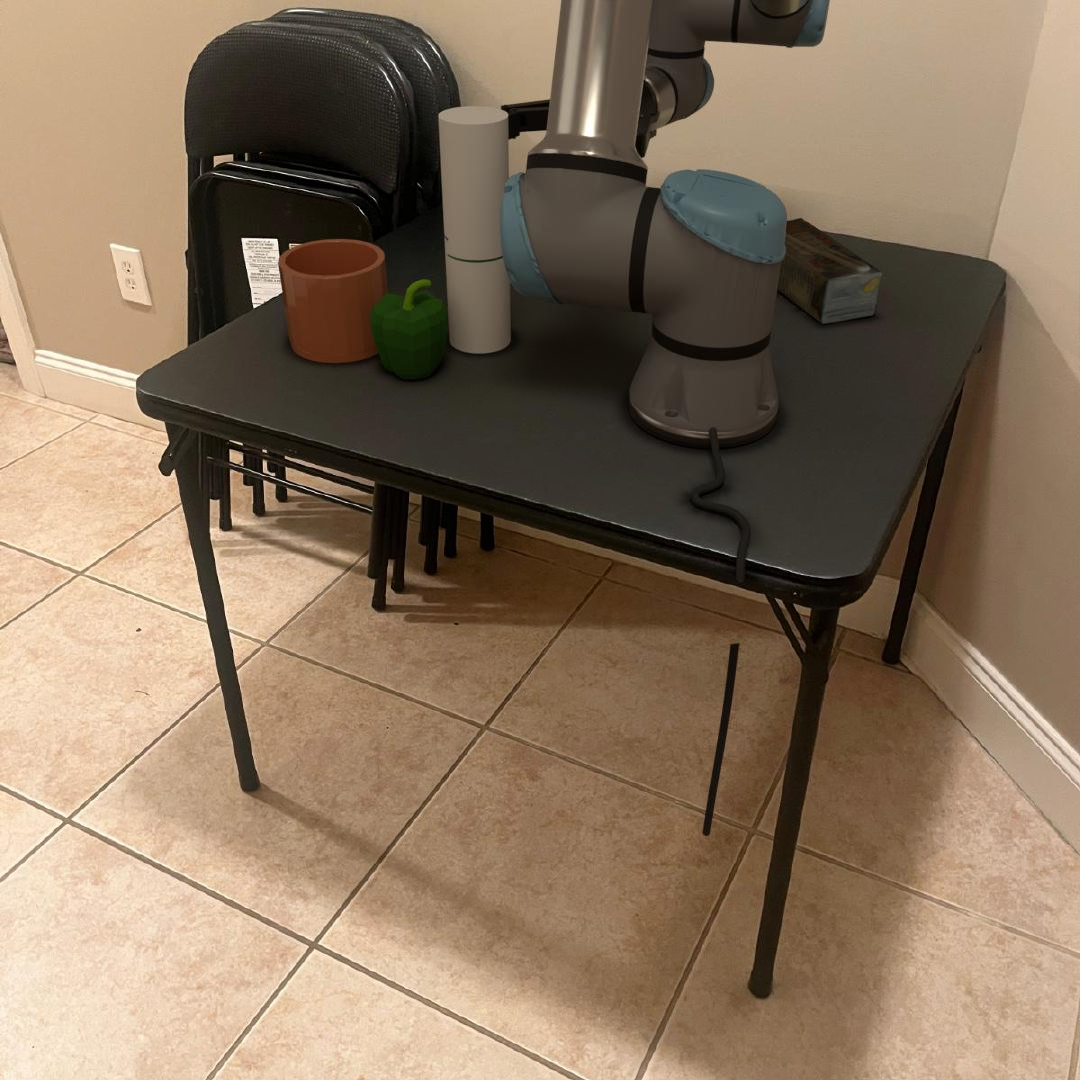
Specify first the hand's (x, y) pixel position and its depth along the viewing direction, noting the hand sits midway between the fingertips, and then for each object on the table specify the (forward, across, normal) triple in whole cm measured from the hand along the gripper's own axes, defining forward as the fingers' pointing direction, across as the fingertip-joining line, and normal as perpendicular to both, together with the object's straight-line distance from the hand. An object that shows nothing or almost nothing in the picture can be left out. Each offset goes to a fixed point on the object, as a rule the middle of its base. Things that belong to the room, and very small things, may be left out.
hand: (530, 146), depth 114 cm
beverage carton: (-26, -25, -20) cm, 41 cm away
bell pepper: (+20, +1, -20) cm, 28 cm away
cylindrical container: (+10, 0, -20) cm, 22 cm away
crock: (+20, +13, -20) cm, 31 cm away
